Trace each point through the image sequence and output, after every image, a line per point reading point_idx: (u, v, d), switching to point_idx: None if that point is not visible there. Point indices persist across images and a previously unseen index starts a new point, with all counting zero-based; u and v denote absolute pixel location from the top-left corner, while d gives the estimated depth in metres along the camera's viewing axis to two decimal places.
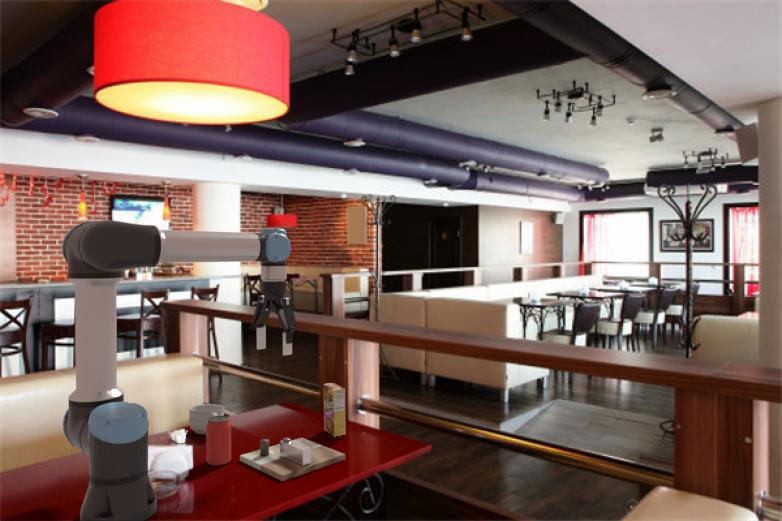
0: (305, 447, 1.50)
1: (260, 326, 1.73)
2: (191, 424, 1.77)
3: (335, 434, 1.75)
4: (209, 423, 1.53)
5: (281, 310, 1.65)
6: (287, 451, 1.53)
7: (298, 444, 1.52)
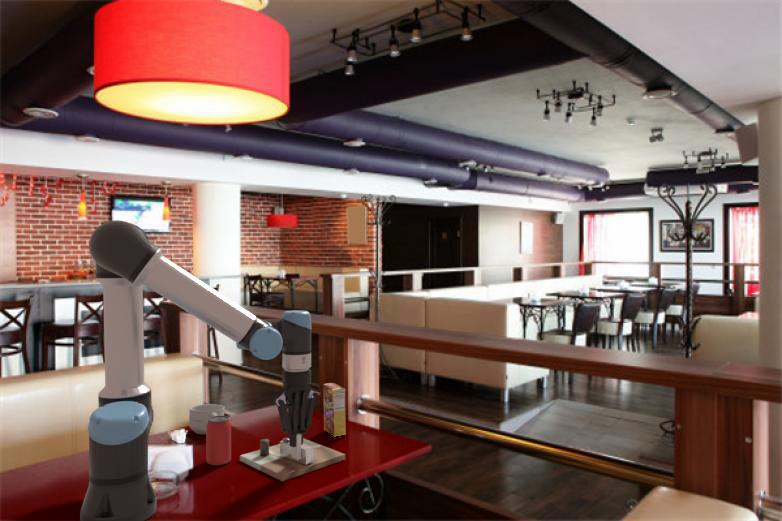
0: (308, 446, 1.51)
1: (298, 431, 1.50)
2: (191, 424, 1.77)
3: (335, 434, 1.75)
4: (209, 423, 1.53)
5: (290, 407, 1.49)
6: (288, 451, 1.53)
7: None
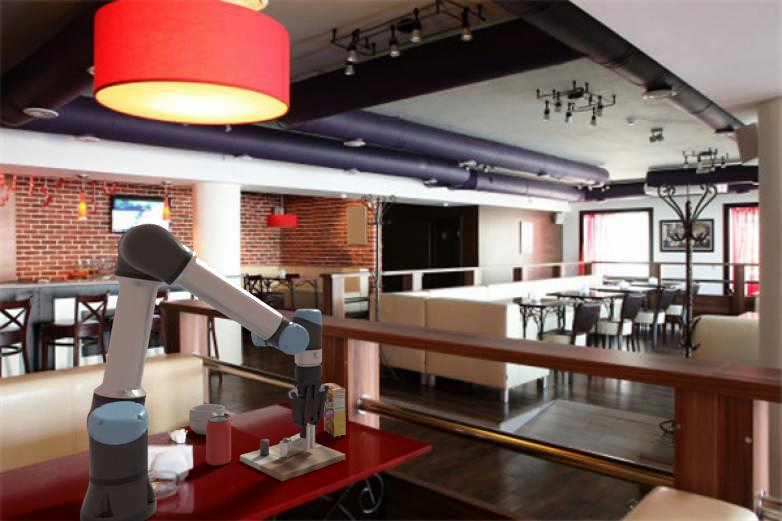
0: None
1: (311, 423, 1.60)
2: (191, 424, 1.77)
3: (335, 434, 1.75)
4: (209, 423, 1.53)
5: (302, 400, 1.57)
6: (295, 446, 1.56)
7: (295, 436, 1.59)
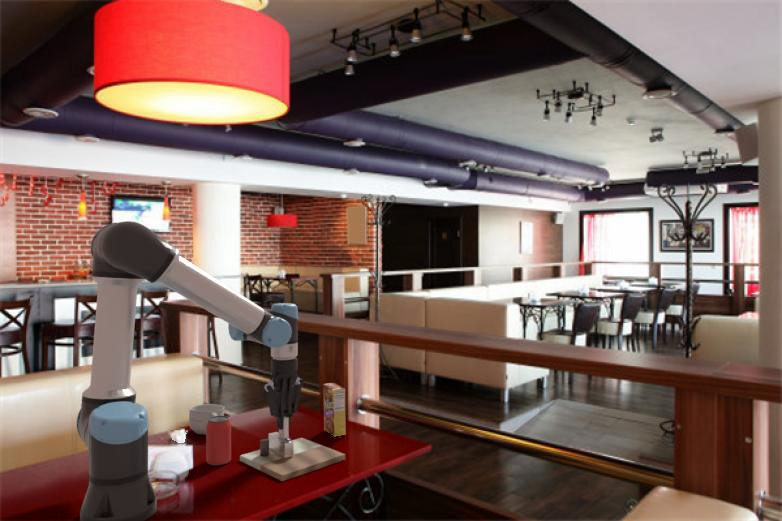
0: (272, 433, 1.61)
1: (285, 415, 1.62)
2: (191, 424, 1.77)
3: (335, 434, 1.75)
4: (209, 423, 1.53)
5: (278, 392, 1.60)
6: None
7: (277, 437, 1.58)
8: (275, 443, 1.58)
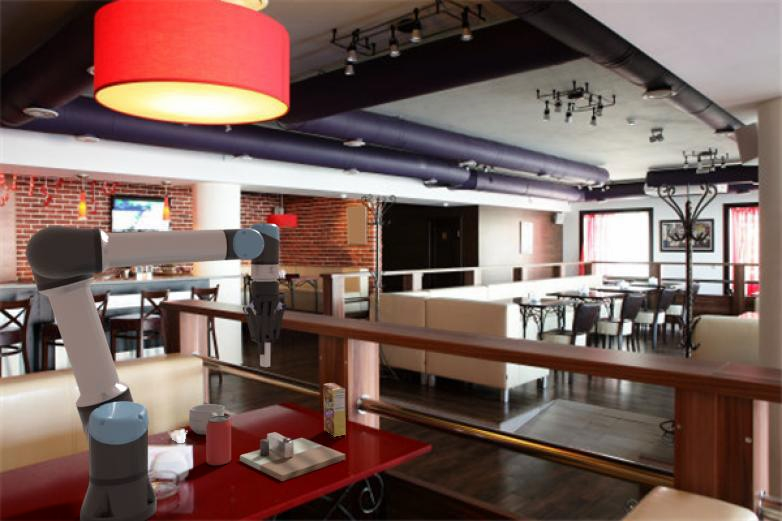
0: (271, 434, 1.61)
1: (267, 340, 1.56)
2: (191, 424, 1.77)
3: (335, 434, 1.75)
4: (209, 423, 1.53)
5: (259, 316, 1.54)
6: None
7: (277, 437, 1.58)
8: (274, 444, 1.58)
